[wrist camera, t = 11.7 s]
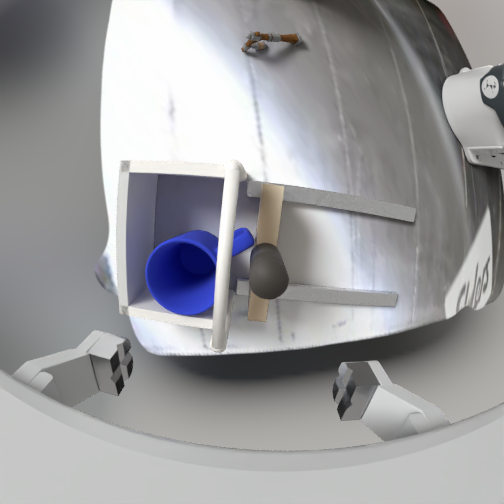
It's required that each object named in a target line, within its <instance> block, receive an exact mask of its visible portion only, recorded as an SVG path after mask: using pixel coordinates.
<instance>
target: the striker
mask: <svg viewBox="0 0 504 504" xmlns="http://www.w3.org/2000/svg"><path fill="white" fill-rule="evenodd" d="M283 194H284V186H278V185H270V184H262V185H261V194H260V203H259V212H258V220H257V229H256V237H255V246H254V248H253V250H252V251H251V255H250V272H249V285H250V289H249V302H248V320H252V321H262V322H266V319H267V312H268V305H269V299H275V298H277V297H279V296H281V295H282V294H283V293H284V292H285V291H286V289H287V287H288V283H289V278H288V274H287V271H286V269H285V266H284V263H283V261H282V258H281V255H280V252H279V250H278V249H277V241H278V234H279V226H280V218H281V210H282V202H283Z"/></svg>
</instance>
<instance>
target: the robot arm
mask: <svg viewBox="0 0 504 504" xmlns="http://www.w3.org/2000/svg"><path fill="white" fill-rule="evenodd" d="M442 99H443V106H444V110H445V114H446V117H447V119H448V122H449V124H450V126H451V128H452V130H453V132H454V134H455V135H456V137H457V138H458V140H459V141H460V142H461V144H462V146H463V149H464V152H465V155H466V157H467V160H468V161H469V163H471V164H476V165H482V166H488V167H494V168H499V169H504V64H498V66H495V67H493V66H485V67H481V68H476V69H473V70H470V69H468V68H462V69H461V70H460V72H459V74H457V75H452V76H450V77H448V78H447V79H446V81H445V83H444V85H443V91H442ZM130 349H131V344H130V340H129V339H128V338H124V337H120V336H117V335H113V334H109V333H105V332H102V331H98V330H96V331H93V332H92V333H91V334H90V335H89V336H88V337H87V338H86V339H85V340H84V341H83V342H82V343H81V344H80V345H79V346H78V347H77V348H76V349H69V350H66V351H62V352H59V353H55V354H52V355H49V356H45V357H42V358H38V359H35V360H31V361H27V362H26V363H25V364H24V365H22V366H21V367H20V368H19V369H18V370H17V371H16V372H15V373H14V374H13V375H12V376H10V375H9V374H7V373H6V372H4V371H2V370H1V369H0V504H504V402H503V403H501V404H499V405H497V406H495V407H493V408H491V409H489V410H486V411H484V412H482V413H479V414H477V415H474V416H472V417H469V418H467V419H464V420H461V421H459V422H456V423H453V424H450V422H449V421H448V420H447V418H446V417H445V415H444V414H443V412H442V411H441V409H440V408H439V407H438V406H436V405H434V404H432V403H430V402H428V401H426V400H424V399H423V398H421V397H419V396H417V395H415V394H413V393H412V392H410V391H408V390H406V389H404V388H402V387H401V386H399V385H397V384H392V382H391V381H390V379H389V377H388V376H387V374H386V373H385V371H384V369H383V368H382V366H381V365H380V363H379V362H378V361H365V362H342V363H341V365H340V367H339V374H340V376H338V377H337V378H336V379H335V381H334V384H333V398H334V401H335V402H336V403H337V404H339V405H338V408H337V411H338V414H339V417H340V419H341V421H346V420H361V421H362V422H363V423H364V424H365V425H366V426H367V427H369V428H370V429H371V430H372V431H373V432H374V433H375V434H377V435H378V436H379V437H380V438H381V439H382V440H383V441H385V442H380V443H374V444H368V445H361V446H354V447H346V448H336V449H323V450H304V451H269V450H267V451H266V450H248V449H236V448H225V447H217V446H209V445H203V444H196V443H190V442H185V441H180V440H175V439H170V438H165V437H161V436H156V435H152V434H149V433H145V432H141V431H137V430H134V429H130V428H127V427H124V426H120V425H117V424H114V423H111V422H108V421H105V420H103V419H100V418H97V417H94V416H92V415H89V414H87V413H84V412H82V411H79V410H77V409H74V408H72V407H73V406H75V405H77V404H79V403H81V402H82V401H84V400H86V399H88V398H89V397H91V396H93V395H95V394H96V393H98V392H99V391H101V392H105V393H108V394H112V395H115V396H119V394H120V393H121V391H122V389H123V388H124V381H125V380H127V379H129V377H130V375H131V373H132V369H133V358H132V356H131V354H130V353H129V350H130Z"/></svg>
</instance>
